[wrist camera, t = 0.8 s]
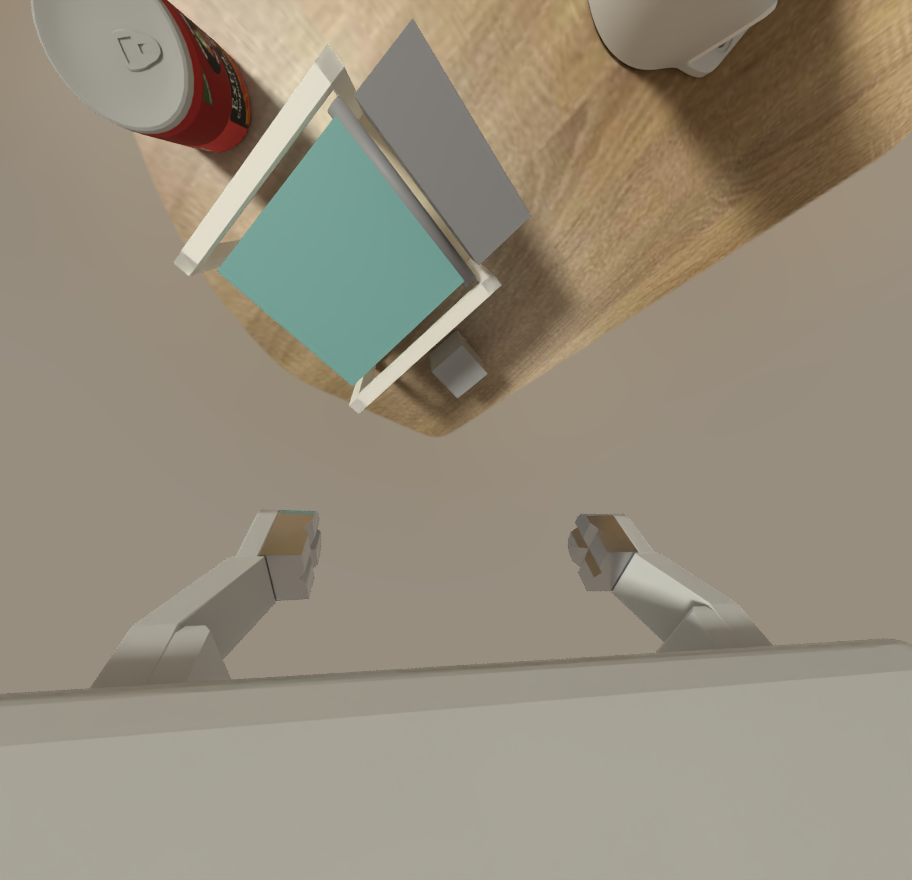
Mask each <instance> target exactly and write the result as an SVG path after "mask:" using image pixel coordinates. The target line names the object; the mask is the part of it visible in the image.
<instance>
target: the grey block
mask: <svg viewBox="0 0 912 880" xmlns="http://www.w3.org/2000/svg"><path fill="white" fill-rule="evenodd" d="M429 356H430V364H431V372H432V373H433V374H434V375H435V376H436V377H437V378H438V379H439V380H440V381H441V382H442V383H443V384H444V385H445V386H446V387H447V388H448V389H449V390H450V391H451V392H452V393H453V394H454V396H455V397H456V398H457V399H458V398H459V397H460V396H461V395H463V394H464V393H465V392H466V391H467V390H469V389H470V388H471V387H472V386H474V385H475V384H476V383H477V382H478V381H480V380H481V379H482V378H483V377H485V376H486V375H487V372H486V369H485V367H484V365H483V363H482V361H481V358H480V356H479V355H478V354H477V353H476V351H475V350H474V349H473V348H472V347H471V346H470V345H469V343H468V342H467V341H466V340H465V339H464V338H463V336H462V335H461V334H460V333H459V332H458V331H457V330H455V331H454V332H453V333H452V334H451V335H450V336H449V337H448V338H446V339H445V340H444V341H443V342H442V343H441V344H440V345H439V346H437V347H436V348H435V349H434V350H433V351H432V352H431V353H430V354H429Z"/></svg>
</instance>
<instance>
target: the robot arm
mask: <svg viewBox="0 0 912 880" xmlns="http://www.w3.org/2000/svg"><path fill="white" fill-rule="evenodd" d="M777 1H778V0H589V5H590V10H591V13H592V17H593V20H594V23H595V26H596V28H597V30H598V33H599V34H600V36H601V38H602V40H603V42H604V43H605V45H606V46H607V47H608V49H609V50H610V51H611V52H612V53H613V55H615V56H616V57H617V58H618V59H619V60H620V61H622V62H623V63H625V64H627V65H629V66H631V67H634V68H637V69H642V70H657V69H664V68H678V69H679V70H681V71H683V72H685V73H686V74H688V75H691V76H693V77H703V76H705V75H707V74H708V73H710V72H712V71H713V70H714V69H715V68H716V67H717V66H718V65H719V64H720V63H721V62H722V60H723V59H724V58H725V57H726V55H727V54H728V53H729V52H730V51H731V49H732V48H733V47H734V46H735V45H736V43H737V42H738V41H739V40H740V38H741V37H742V36H743V35H744V34H745V32H746V31H747V30H748V29H749V28H750V27H751V26H752V25H754V24H756V23H757V22H759V21H760V20H762V19H763V18H765V17H766V16H767V15H769V14H770V13H771V12H772V11H773V10H774V9H775V8H776V5H777ZM718 46H720V47H719V48H718ZM575 523H576V525H577V528H576V529H574V530H573V531H572V532H571V533H570V536H569V539H568V549H569V553H570V556H571V558H572V561H573V562H575V563H576V564H577V565H578V566H580V568H579V572H578V573H579V575H580V577H581V579H582V581H583V583H584V585H585V588H586V590H587V591H612V593H613V594H614V595H615V596H616V597H617V598H618V599H619V600H620V601H621V602H622V603H623V604H625V605H626V606H627V607H628V608H629V609H630V610H631V611H632V612H633V613H634V614H635V615H636V616H637V617H638V618H639V619H640V620H641V621H642V622H643V623H644V624H646V625H647V626H648V627H649V628H650V629H651V630H652V631H653V632H654V633H655V634H656V635H657V636H658V637H659V638H660V639H661V640H662V641H663V642H664V643H663V644H662V645H661V647H660V648H659V649H658V650H657V651H656V653H649V654H648V653H647V654H632V655H615V656H600V657H583V658H567V659H551V660H535V661H518V662H503V663H489V664H488V663H487V664H471V665H456V666H440V667H424V668H410V669H409V668H408V669H393V670H377V671H361V672H345V673H329V674H313V675H298V676H282V677H266V678H251V679H250V678H249V679H233V680H231V678H230V675H229V673H228V671H227V669H226V666H225V664H224V662H223V659H224V658H225V657H226V656H227V655H228V654H229V653H230V652H231V650H232V649H233V648H234V647H235V646H236V645H237V644H238V643H239V642H240V640H242V638H243V637H244V636H245V635H246V634H247V633H248V632H249V631H250V630H251V629H252V628H253V627H254V625H256V623H257V622H258V621H259V620H260V619H261V618H262V617H263V616H264V615H265V614H266V613H267V612H268V610H269V609H270V608H271V607H272V606H273V605H274V604H275V603H276V602H275V601H281V600H299V599H309V595H310V592H311V588H312V584H313V580H314V572H313V568H314V567H315V566H316V565H317V564H318V561H319V557H320V550H321V532H320V531H319V530H318V529H317V528H318V524H319V516H318V512H317V511H291V510H280V511H279V510H261V511H260V512H259V513H258V514H257V515H256V517H255V519H254V521H253V523H252V525H251V527H250V529H249V531H248V533H247V535H246V537H245V539H244V541H243V543H242V545H241V547H240V549H239V551H238V552H237V554H236V556H235V557H228V558H227V559H226V560H224V561H223V562H221V563H220V564H219V565H218V566H216V567H214V568H213V569H212V570H210V571H209V572H207V573H206V574H204V575H203V576H202V577H200V578H199V579H198V580H196V581H195V582H193V583H192V584H190V585H189V586H188V587H186V588H185V589H184V590H182V591H181V592H179V593H178V594H176V595H175V596H174V597H172V598H171V599H170V600H168V601H167V602H165V603H164V604H162V605H161V606H160V607H158V608H157V609H155V610H154V611H153V612H151V613H150V614H148V615H147V616H145V617H144V618H143V619H141V620H140V621H138V622H137V623H136V624H134V625H133V626H132V627H131V628H130V630H129V631H128V633H127V634H126V636H125V637H124V639H123V640H122V641H121V643H120V644H119V646H118V648H117V649H116V650H115V652H114V653H113V655H112V656H111V658H110V659H109V661H108V662H107V664H106V665H105V667H104V668H103V670H102V671H101V673H100V674H99V676H98V677H97V679H96V680H95V681H94V683H93V685H92V686H91V688H88V689H71V690H55V691H38V692H24V693H7V694H0V880H912V645H911V644H909V643H907V642H903V641H901V640H895V639H869V640H855V641H838V642H824V643H823V642H822V643H806V644H790V645H775V646H773V645H772V644H771V643H770V642H769V640H768V639H767V638H766V637H765V636H764V635H763V633H762V632H761V631H760V630H759V629H758V627H757V626H756V625H755V624H754V623H753V622H752V620H751V619H750V618H749V617H748V616H747V614H746V613H745V612H744V611H743V610H742V609H741V607H740V606H739V605H738V604H737V603H736V602H734V601H732V600H731V599H729V598H728V597H726V596H725V595H723V594H722V593H720V592H719V591H717V590H715V589H714V588H712V587H711V586H709V585H708V584H706V583H705V582H703V581H702V580H700V579H698V578H697V577H696V576H694V575H692V574H691V573H689V572H688V571H686V570H685V569H683V568H682V567H680V566H678V565H677V564H676V563H674V562H672V561H671V560H669V559H668V558H666V557H665V556H663V555H661V554H660V553H654V551H653V550H652V548H651V547H650V546H649V545H648V543H647V542H646V540H645V539H644V538H643V536H642V535H641V533H640V532H639V531H638V529H637V528H636V527H635V525H634V524H633V523H632V521H631V520H630V519H629V517H628V516H627V515H625V514H580V515H579V516H578V517H577V519H576V522H575Z"/></svg>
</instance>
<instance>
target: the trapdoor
mask: <svg viewBox="0 0 912 880" xmlns="http://www.w3.org/2000/svg"><path fill="white" fill-rule="evenodd" d="M354 96H355V98H356V100H357V102H358V104H359V106H360V108H361V110H362V112H363V114H364V115H365V116H366V118H367V119H368V120H369V122H370V123H371V124H372V126H373V127H374V128H375V130H376V131H377V133H378V134H379V135H380V137H381V138H382V139H383V141H384V142H385V143H386V145H387V146H388V147H389V149H390V150H391V151H392V153H393V154H394V156H395V157H396V158H397V160H398V161H399V162H400V164H401V165H402V166H403V168H404V169H405V170H406V172H407V173H408V174H409V176H410V177H411V178H412V180H413V181H414V183H415V184H416V185H417V187H418V188H419V189H420V191H421V192H422V193H423V195H424V196H425V197H426V199H427V200H428V201H429V203H430V204H431V206H432V207H433V208H434V210H435V211H436V212H437V214H438V215H439V216H440V218H441V219H442V220H443V222H444V223H445V224H446V226H447V227H448V229H449V230H450V231H451V233H452V234H453V235H454V237H455V238H456V239H457V241H458V242H459V243H460V245H461V246H462V247H463V249H464V250H465V251H466V253H467V254H468V256H469V257H470V258H471V259H472V260H473V261H474V262H476V263H477V264H478V265H480V264H481V263H482V262H483V261H484V260H485V259H487V258H488V257H489V256H490V255H491V254H492V253H493V252H494V251H495V250H496V249H497V248H498V247H499V246H500V245H501V244H502V243H503V242H505V241H506V240H507V239H508V238H509V237H510V236H511V235H512V234H513V233H514V232H515V231H516V230H517V229H518V228H519V227H520V226H522V225H523V224H524V223H525V222H526V221H527V220H528V219H529V218H530V217H531V215H530V213H529V211H528V210H527V208H526V206H525V205H524V203H523V201H522V200H521V198H520V196H519V195H518V193H517V191H516V190H515V188H514V186H513V185H512V183H511V181H510V180H509V178H508V176H507V175H506V173H505V171H504V170H503V168H502V166H501V165H500V163H499V161H498V160H497V158H496V156H495V155H494V153H493V151H492V150H491V148H490V146H489V145H488V143H487V141H486V140H485V138H484V136H483V135H482V133H481V131H480V130H479V128H478V126H477V125H476V123H475V121H474V120H473V118H472V116H471V115H470V113H469V111H468V110H467V108H466V106H465V105H464V103H463V101H462V100H461V98H460V96H459V95H458V93H457V91H456V90H455V88H454V86H453V85H452V83H451V81H450V80H449V78H448V76H447V75H446V73H445V71H444V70H443V68H442V66H441V65H440V63H439V61H438V60H437V58H436V56H435V55H434V53H433V51H432V50H431V48H430V46H429V45H428V43H427V41H426V40H425V38H424V36H423V35H422V33H421V31H420V30H419V28H418V26H417V25H416V23H415V21H414V20H413V19H412V20H411V21H410V23H409V24H408V25H407V26H406V28H405V29H404V30H403V32H402V33H401V34H400V36H399V37H398V38H397V39H396V41H395V42H394V43H393V45H392V46H391V47H390V49H389V50H388V51H387V52H386V54H385V55H384V56H383V58H382V59H381V60H380V62H379V63H378V64H377V65H376V67H375V68H374V69H373V71H372V72H371V73H370V75H369V76H368V77H367V79H366V80H365V81H364V82H363V84H362V85H361V86H360V88H359V89H358V90H357V92H356V93H355V94H354ZM328 113H329V114H330V116H331V117H332V118H333V120H332V121H331V122H330V124H329V125H328V126H327V128H326V129H325V130H324V131H323V133H322V134H321V135H320V137H319V138H318V139H317V141H316V142H315V143H314V144H313V146H312V147H311V148H310V150H309V151H308V152H307V154H306V155H305V156H304V158H303V159H302V160H301V161H300V163H299V164H298V165H297V167H296V168H295V169H294V171H293V172H292V173H291V175H290V176H289V177H288V178H287V180H286V181H285V182H284V184H283V185H282V186H281V188H280V189H279V190H278V192H277V193H276V194H275V195H274V197H273V198H272V199H271V201H270V202H269V203H268V205H267V206H266V207H265V209H264V210H263V211H262V212H261V214H260V215H259V216H258V218H257V219H256V220H255V222H254V223H253V224H252V225H251V227H250V228H249V229H248V231H247V232H246V233H245V235H244V236H243V237H242V239H241V240H240V241H239V242H238V244H237V245H236V246H235V248H234V249H233V250H232V252H231V253H230V254H229V256H228V257H227V258H226V259H225V261H224V262H223V263H222V265H221V266H220V267H219V269H218V270H217V272H219V273H220V274H221V275H222V276H223V277H224V278H226V279H227V280H228V281H229V282H230V283H232V284H233V285H234V286H235V287H236V288H237V289H239V290H240V291H241V292H242V293H243V294H244V295H246V296H247V297H248V298H249V299H250V300H252V301H253V302H254V303H255V304H256V305H257V306H259V307H260V308H261V309H262V310H263V311H264V312H266V313H267V314H268V315H269V316H270V317H272V318H273V319H274V320H275V321H276V322H277V323H279V324H280V325H281V326H282V327H283V328H284V329H286V330H287V331H288V332H289V333H290V334H292V335H293V336H294V337H295V338H296V339H297V340H299V341H300V342H301V343H302V344H303V345H305V346H306V347H307V348H308V349H309V350H310V351H312V352H313V353H314V354H315V355H316V356H317V357H319V358H320V359H321V360H322V361H323V362H325V363H326V364H327V365H328V366H329V367H330V368H332V369H333V370H334V371H335V372H336V373H337V374H339V375H340V376H341V377H342V378H343V379H345V380H346V381H347V382H348V383H349V384H350V385H352V386H353V385H354V384H356V383H357V382H358V381H359V380H360V379H361V378H362V377H363V376H364V375H365V374H366V373H367V372H368V371H369V370H370V369H372V368H373V367H374V366H375V365H376V364H377V363H378V362H379V361H380V360H381V359H382V358H383V357H384V356H385V355H386V354H387V353H389V352H390V351H391V350H392V349H393V348H394V347H395V346H396V345H397V344H398V343H399V342H400V341H401V340H402V339H403V338H405V337H406V336H407V335H408V334H409V333H410V332H411V331H412V330H413V329H414V328H415V327H416V326H417V325H418V324H419V323H420V322H422V321H423V320H424V319H425V318H426V317H427V316H428V315H429V314H430V313H431V312H432V311H433V310H434V309H435V308H436V307H438V306H439V305H440V304H441V303H442V302H443V301H444V300H445V299H446V298H447V297H448V296H449V295H450V294H451V293H452V292H453V291H455V290H456V289H457V288H458V287H459V286H460V285H461V284H463V285H464V286H465V287H468V286H469V285H470V284H472V283H473V282H474V280H475V279H476V276H475V275H474V273H473V272H472V271H471V269H470V268H469V267H468V265H467V264H466V263H465V261H464V260H463V259H462V257H461V256H460V255H459V253H458V252H457V251H456V249H455V248H454V247H453V245H452V244H451V243H450V241H449V240H448V239H447V237H446V236H445V235H444V233H443V232H442V231H441V229H440V228H439V227H438V225H437V224H436V223H435V221H434V220H433V219H432V217H431V216H430V215H429V213H428V212H427V211H426V210H425V208H424V207H423V206H422V204H421V203H420V202H419V200H418V199H417V198H416V196H415V195H414V194H413V192H412V191H411V190H410V188H409V187H408V186H407V184H406V183H405V182H404V180H403V179H402V178H401V176H400V175H399V174H398V172H397V171H396V170H395V168H394V167H393V166H392V164H391V163H390V162H389V160H388V159H387V158H386V156H385V155H384V154H383V152H382V151H381V150H380V148H379V147H378V146H377V144H376V143H375V142H374V140H373V139H372V138H371V137H370V135H369V134H368V133H367V131H366V130H365V129H364V127H363V126H362V125H361V123H360V122H359V121H358V119H357V118H356V117H355V115H354V114H353V113H352V111H351V110H350V109H349V107H348V106H347V105H346V103H345V102H344V101H343V99H342V98H341V97H340V96H338V97H337V98H336V99H335V100H334V101H333V102H332V104H331V105H330V107H329V109H328Z"/></svg>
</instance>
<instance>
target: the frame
mask: <svg viewBox="0 0 912 880" xmlns="http://www.w3.org/2000/svg"><path fill="white" fill-rule="evenodd" d="M333 90H334V92H335V93H336V95H337V96H340V97H341V98H342V99H343V101H344V102H345V103H346V105H347V106H348V107H349V109H350V110H351V111H352V113H353V114H354V115H355V117H356V118H357V119H358V121H359V122H360V123H361V125H362V126H363V127H364V129H365V130H366V131H367V133H368V134H369V135H370V137H371V138H372V139H373V140H374V142H375V143H376V144H377V146H378V147H379V148H380V150H381V151H382V152H383V154H384V155H385V156H386V158H387V159H388V160H389V162H390V163H391V164H392V166H393V167H394V168H395V170H396V171H397V172H398V174H399V175H400V176H401V178H402V179H403V180H404V182H405V183H406V184H407V186H408V187H409V188H410V190H411V191H412V192H413V194H414V195H415V196H416V198H417V199H418V200H419V202H420V203H421V204H422V206H423V207H424V208H425V210H426V211H427V212H428V213H429V215H430V216H431V217H432V219H433V220H434V221H435V223H436V224H437V225H438V227H439V228H440V229H441V231H442V232H443V233H444V235H445V236H446V237H447V239H448V240H449V241H450V243H451V244H452V245H453V247H454V248H455V249H456V251H457V252H458V253H459V255H460V256H461V257H462V259H463V260H464V261H465V263H466V264H467V265H468V267H469V268H470V269H471V271H472V272H473V273H474V275H475V276H476V280H477V281H478V282H479V283H478V284H477V285H476V286H474V287H473V288H472V289H471V290H470V291H469V292H468V293H467V294H466V295H465V296H464V297H463V298H461V299H460V300H459V301H458V302H457V303H456V304H455V305H454V306H453V307H452V308H451V309H450V310H448V311H447V312H446V313H445V314H444V315H443V316H442V317H441V318H440V319H439V320H438V321H437V322H435V323H434V324H433V325H432V326H431V327H430V328H429V329H428V330H427V331H426V332H425V333H424V334H422V335H421V336H420V337H419V338H418V339H417V340H416V341H415V342H414V343H413V344H412V345H411V346H409V347H408V348H407V349H406V350H405V351H404V352H403V353H402V354H401V355H400V356H399V357H398V358H397V359H395V360H394V361H393V362H392V363H391V364H390V365H389V366H388V367H387V368H386V369H385V370H384V371H382V372H381V373H380V374H379V375H378V376H377V377H376V378H375V379H374V380H373V377H374V373H375V368H376V365H375V366H374V367H373V368H372V369H370V370H369V371H368V372H367V373H366V374H365V375H364V376H363V377H362V378H361V379H360V380H359V381H358V382H357V383H356V385H355V388H354V391H353V395H352V398H351V401H350V404H349V406H350V407H351V408H352V409H354V410H355V411H356V412H357V413H360V412H361V411H362V410H363V409H364V408H366V407H367V406H368V405H369V404H370V403H371V402H372V401H373V400H374V399H376V398H377V397H378V396H379V395H380V394H381V393H382V392H383V391H384V390H386V389H387V388H388V387H389V386H390V385H391V384H392V383H393V382H394V381H396V380H397V379H398V378H399V377H400V376H401V375H402V374H403V373H404V372H406V371H407V370H408V369H409V368H410V367H411V366H412V365H413V364H415V363H416V362H417V361H418V360H419V359H420V358H421V357H422V356H423V355H425V354H426V353H427V352H428V351H429V350H430V349H431V348H432V347H433V346H435V345H436V344H437V343H438V342H439V341H440V340H441V339H442V338H443V337H445V336H446V335H447V334H448V333H449V332H450V331H451V330H452V329H453V328H455V327H456V326H457V325H458V324H459V323H460V322H461V321H462V320H463V319H465V318H466V317H467V316H468V315H469V314H470V313H471V312H472V311H474V310H475V309H476V308H477V307H478V306H479V305H480V304H481V303H482V302H484V301H485V300H486V299H487V298H488V297H489V296H490V295H491V294H492V293H494V292H495V291H496V290H497V289H498V288H499V287H500V286H501V284H500V282H499V281H498V279H497V278H496V277H495V275H494V274H493V273H492V272H491V271H490V270H488V269H487V268H486V267H485V266H483V265H482V264H480V265H478V264H477V263H476V262H474V261H473V260H472V259H471V258H470V257H469V256H468V254H467V253H466V251H465V250H464V249H463V247H462V246H461V245H460V243H459V242H458V241H457V239H456V238H455V237H454V235H453V234H452V233H451V231H450V230H449V229H448V227H447V226H446V224H445V223H444V222H443V220H442V219H441V218H440V216H439V215H438V214H437V212H436V211H435V210H434V208H433V207H432V206H431V204H430V203H429V201H428V200H427V199H426V197H425V196H424V195H423V193H422V192H421V191H420V189H419V188H418V187H417V185H416V184H415V183H414V181H413V180H412V178H411V177H410V176H409V174H408V173H407V172H406V170H405V169H404V168H403V166H402V165H401V164H400V162H399V161H398V160H397V158H396V157H395V156H394V154H393V153H392V151H391V150H390V149H389V147H388V146H387V145H386V143H385V142H384V141H383V139H382V138H381V137H380V135H379V134H378V133H377V131H376V130H375V128H374V127H373V126H372V124H371V123H370V122H369V120H368V119H367V118H366V116H365V115H364V114H363V112H362V110H361V108H360V106H359V104H358V102H357V100H356V98H355V96H354V94H355V93H356V90H355V88H354V86H353V84H352V82H351V80H350V78H349V76H348V74H347V72H346V69H345V67H344V66H343V64H342V63H341V61H340V60H339V59H338V57H337V56H336V55H335V53H334V52H333V50H332V49H331V48H330V46H329V45H328V44H327V46H326V47H325V48H324V50H323V51H322V53H321V54H320V56H319V57H318V58H317V60H316V61H315V63H314V64H313V65H312V67H311V68H310V70H309V71H308V73H307V74H306V75H305V77H304V78H303V80H302V81H301V82H300V84H299V85H298V87H297V88H296V89H295V91H294V92H293V94H292V95H291V97H290V98H289V99H288V101H287V102H286V104H285V105H284V106H283V108H282V109H281V111H280V112H279V113H278V115H277V116H276V118H275V119H274V121H273V122H272V123H271V125H270V126H269V128H268V129H267V130H266V132H265V133H264V135H263V136H262V137H261V139H260V140H259V142H258V143H257V145H256V146H255V147H254V149H253V150H252V152H251V153H250V154H249V156H248V157H247V159H246V160H245V162H244V163H243V164H242V166H241V167H240V169H239V170H238V171H237V173H236V174H235V176H234V177H233V178H232V180H231V181H230V183H229V184H228V186H227V187H226V188H225V190H224V191H223V193H222V194H221V195H220V197H219V198H218V200H217V201H216V202H215V204H214V205H213V207H212V208H211V210H210V211H209V212H208V214H207V215H206V217H205V218H204V219H203V221H202V222H201V224H200V225H199V226H198V228H197V229H196V231H195V232H194V234H193V235H192V236H191V238H190V239H189V241H188V242H187V243H186V245H185V246H184V248H183V249H182V251H181V252H180V253H179V255H178V256H177V258H176V259H175V261H174V262H173V263H174V264H175V265H176V266H177V267H179V268H180V269H181V270H183V271H184V272H185V273H186V274H187V275H188V276H191V275H195V274H198V273H201V272H204V271H208V270H211V269H214V268H217V267H220V266H221V265H222V263H223V262H224V261H225V259H226V258H227V257H228V256H229V254H230V253H231V252H232V250H233V249H234V248H235V246H236V245H237V244H238V242H239V241H240V240H236V241H230V242H225V243H220V241H221V240H222V239H223V237H224V236H225V234H226V233H227V232H228V230H229V229H230V228H231V226H232V225H233V224H234V222H235V221H236V220H237V218H238V217H239V216H240V214H241V213H242V212H243V210H244V209H245V208H246V206H247V205H248V204H249V202H250V201H251V200H252V198H253V197H254V196H255V194H256V193H257V191H258V190H259V189H260V187H261V186H262V185H263V183H264V182H265V181H266V179H267V178H268V177H269V175H270V174H271V173H272V171H273V170H274V169H275V167H276V166H277V165H278V163H279V162H280V161H281V159H282V158H283V157H284V155H285V154H286V152H287V151H288V150H289V148H290V147H291V146H292V144H293V143H294V142H295V140H296V139H297V138H298V136H299V135H300V134H301V132H302V131H303V130H304V128H305V127H306V126H307V124H308V123H309V122H310V120H311V119H312V118H313V116H314V115H315V114H316V112H317V111H318V109H319V108H320V107H321V105H322V104H323V103H324V101H325V100H326V99H327V97H328V96H329V95H330V93H331V92H332V91H333ZM219 243H220V244H219Z"/></svg>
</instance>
